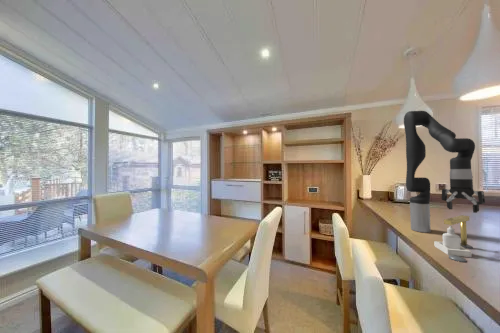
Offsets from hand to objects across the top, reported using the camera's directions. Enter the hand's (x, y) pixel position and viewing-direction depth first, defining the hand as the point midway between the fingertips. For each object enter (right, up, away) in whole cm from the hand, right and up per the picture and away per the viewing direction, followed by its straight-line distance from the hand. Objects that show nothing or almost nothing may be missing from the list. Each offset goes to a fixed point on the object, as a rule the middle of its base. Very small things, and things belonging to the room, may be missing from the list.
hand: (462, 210), depth 92 cm
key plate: (0, -18, 0) cm, 18 cm away
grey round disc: (-16, -18, -12) cm, 27 cm away
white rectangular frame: (-11, -18, -5) cm, 21 cm away
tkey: (-5, -17, -3) cm, 18 cm away
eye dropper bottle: (-11, -18, -5) cm, 22 cm away
